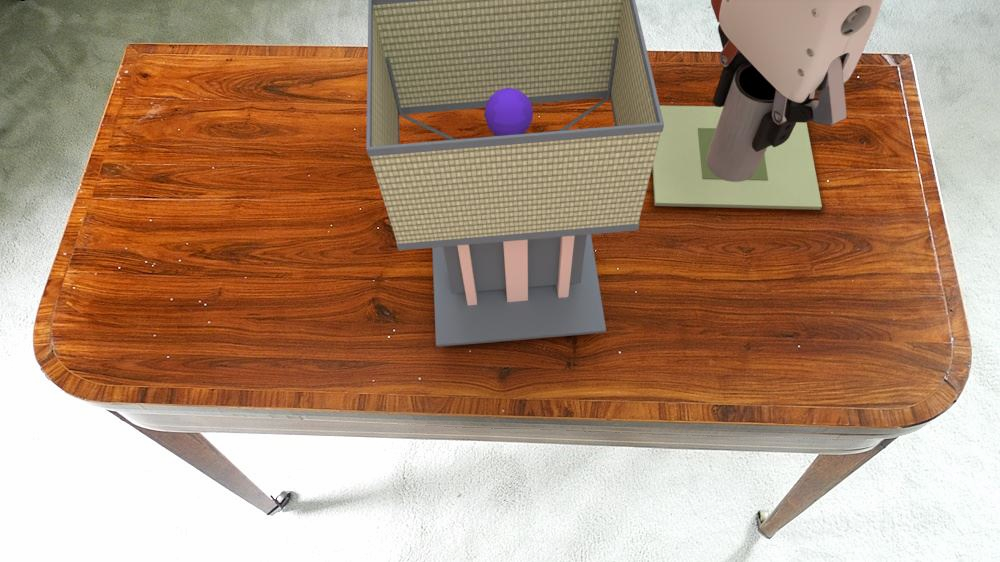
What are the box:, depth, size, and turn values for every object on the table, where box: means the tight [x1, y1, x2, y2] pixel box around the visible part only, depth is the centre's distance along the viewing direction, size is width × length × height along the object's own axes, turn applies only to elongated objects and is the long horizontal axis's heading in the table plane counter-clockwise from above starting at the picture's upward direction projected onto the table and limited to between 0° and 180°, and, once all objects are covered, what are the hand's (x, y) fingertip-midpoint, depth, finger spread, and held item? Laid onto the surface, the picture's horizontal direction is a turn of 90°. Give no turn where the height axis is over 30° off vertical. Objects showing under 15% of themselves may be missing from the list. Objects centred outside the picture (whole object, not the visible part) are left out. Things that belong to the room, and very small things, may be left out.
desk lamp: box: [365, 0, 664, 348], centre depth 62 cm, size 18×14×33 cm
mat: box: [652, 105, 823, 211], centre depth 83 cm, size 18×14×1 cm
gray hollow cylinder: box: [707, 61, 776, 182], centre depth 61 cm, size 4×4×10 cm
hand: (749, 119), depth 60 cm, fingers closed on gray hollow cylinder, 4 cm apart
